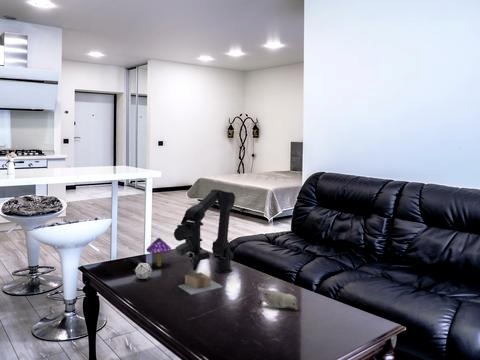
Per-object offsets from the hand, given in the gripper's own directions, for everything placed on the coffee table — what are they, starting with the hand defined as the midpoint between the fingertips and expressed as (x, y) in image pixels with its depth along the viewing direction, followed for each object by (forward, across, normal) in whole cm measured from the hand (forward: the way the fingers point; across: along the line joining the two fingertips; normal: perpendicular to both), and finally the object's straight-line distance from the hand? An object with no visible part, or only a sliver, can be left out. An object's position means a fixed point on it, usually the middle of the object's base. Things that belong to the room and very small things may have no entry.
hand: (194, 270), depth 187 cm
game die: (+6, -18, -17) cm, 26 cm away
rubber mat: (+6, +6, 0) cm, 8 cm away
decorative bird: (+6, +42, +14) cm, 45 cm away
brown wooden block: (+4, -1, 0) cm, 4 cm away
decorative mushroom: (+6, -32, -3) cm, 33 cm away
